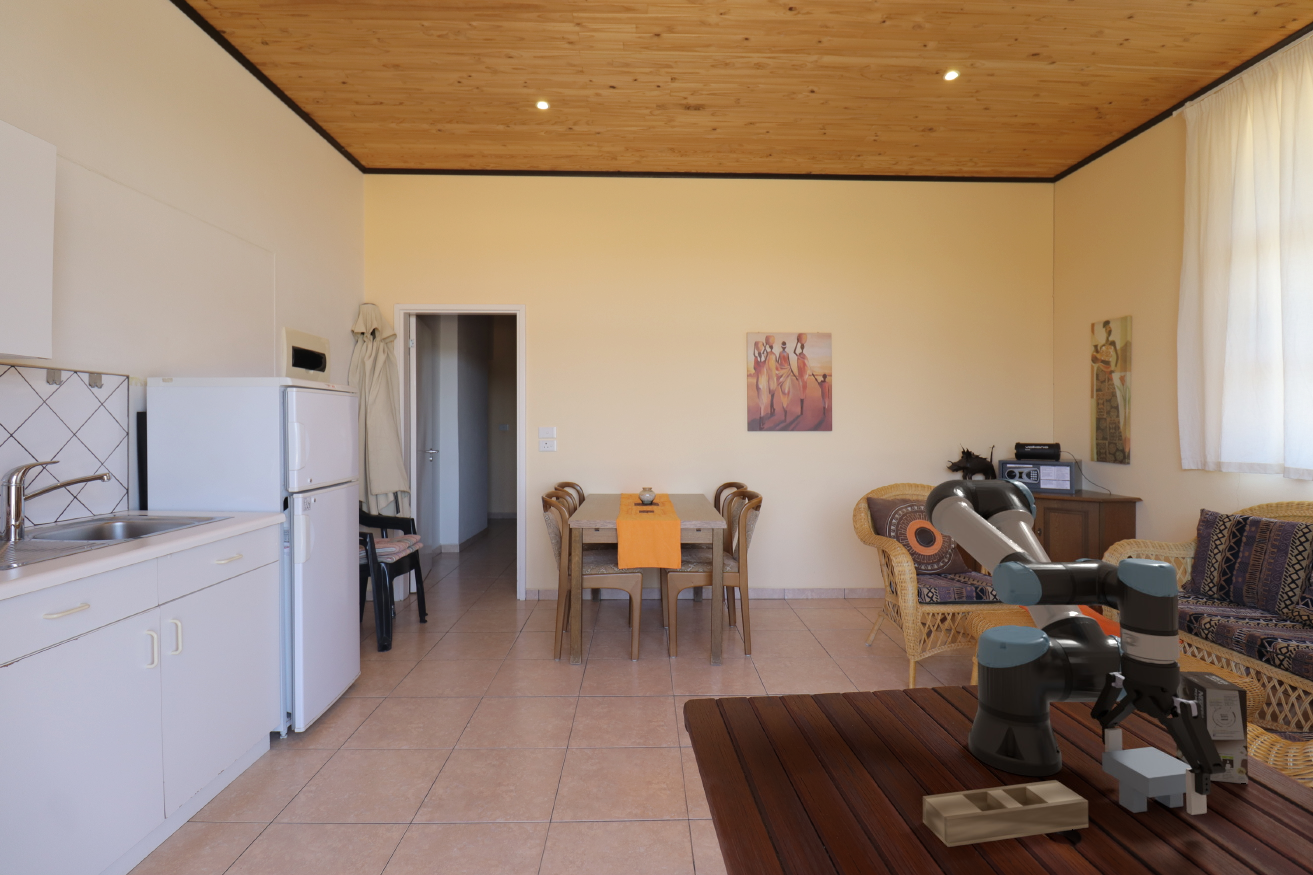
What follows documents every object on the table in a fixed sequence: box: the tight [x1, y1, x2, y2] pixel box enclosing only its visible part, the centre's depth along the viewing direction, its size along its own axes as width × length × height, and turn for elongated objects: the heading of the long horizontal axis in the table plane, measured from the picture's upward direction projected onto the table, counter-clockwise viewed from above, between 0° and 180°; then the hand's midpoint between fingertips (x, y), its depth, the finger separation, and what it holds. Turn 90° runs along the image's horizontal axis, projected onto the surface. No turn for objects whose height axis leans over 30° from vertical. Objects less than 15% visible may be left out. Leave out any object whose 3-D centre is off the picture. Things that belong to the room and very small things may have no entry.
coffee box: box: [1175, 670, 1249, 785], centre depth 110 cm, size 9×6×16 cm
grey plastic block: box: [1101, 746, 1191, 814], centre depth 100 cm, size 8×10×7 cm
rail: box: [922, 779, 1089, 848], centre depth 95 cm, size 6×24×4 cm, turn 100°
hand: (1152, 788), depth 99 cm, fingers open, 13 cm apart
